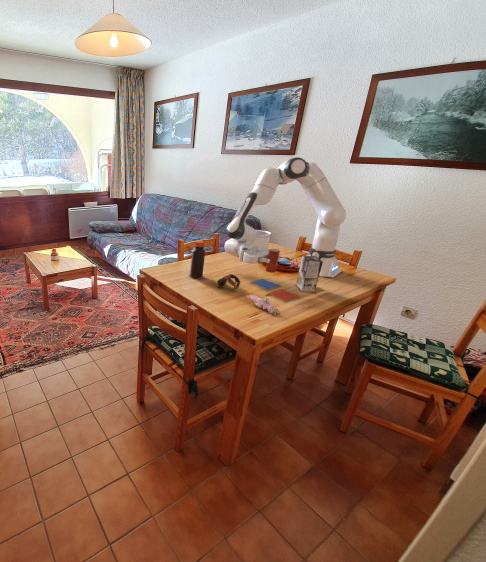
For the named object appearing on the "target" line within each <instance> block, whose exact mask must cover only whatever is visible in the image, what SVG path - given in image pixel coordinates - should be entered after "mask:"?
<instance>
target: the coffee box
mask: <svg viewBox="0 0 486 562" xmlns="http://www.w3.org/2000/svg"><path fill="white" fill-rule="evenodd" d="M322 263H323V261H321V260H320V259H319V258H317V257H316V256H307V255H302V256H301V261H300V265H299V270H298V274H297V279H296V283H295V284H296V285H297V287H298V288H299V289H300V291H303V292H316V288H317V285H318V282H319V277H320V276H319V274H320V271H321V267H322Z"/></svg>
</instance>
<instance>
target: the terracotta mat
mask: <svg viewBox="0 0 486 562" xmlns="http://www.w3.org/2000/svg"><path fill="white" fill-rule="evenodd" d="M268 295H269V296H271V297H274V298H277V299H279V300H281V301H284V302H287V301H290V300H292V299H295V298H297V297H299V295H297V294H296V293H293V292H290V291H287V290H285V289H279V290H276V291H275V290H274V291H272V292H269V293H268Z"/></svg>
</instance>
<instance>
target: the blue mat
mask: <svg viewBox="0 0 486 562" xmlns="http://www.w3.org/2000/svg"><path fill="white" fill-rule="evenodd" d="M251 284H253V285H255V286H257V287H260V288H263V289H265V290H270V289H275V288H277V287H280V286H281V285H279V284H277V283H274V282H272V281H270V280H268V279H267V280H266V279H259V280H256V281H251Z"/></svg>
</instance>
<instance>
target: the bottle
mask: <svg viewBox="0 0 486 562" xmlns="http://www.w3.org/2000/svg"><path fill="white" fill-rule="evenodd" d="M205 256H206V250H205V241H203V240H195V241H194V248H193V249H192V250H191V262H190V269H189V270H190V271H189V277H190V278H192V279H202V278H203V275H204V265H205V258H206V257H205Z"/></svg>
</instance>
